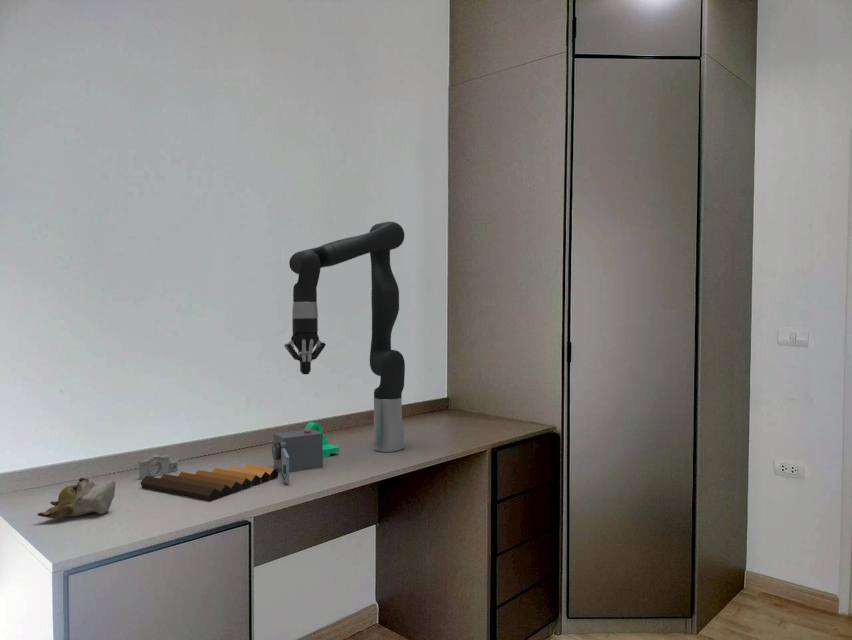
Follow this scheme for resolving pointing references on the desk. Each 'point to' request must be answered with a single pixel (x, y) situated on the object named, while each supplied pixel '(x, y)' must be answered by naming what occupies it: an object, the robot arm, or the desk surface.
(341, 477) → the desk surface
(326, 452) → the camera mount
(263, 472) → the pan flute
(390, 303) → the robot arm
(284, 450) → the door
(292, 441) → the housing
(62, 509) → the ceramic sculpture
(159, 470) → the grey ringed bracket
